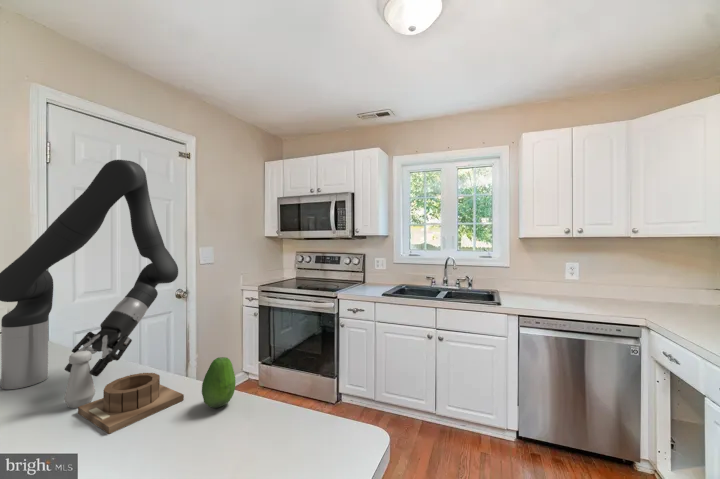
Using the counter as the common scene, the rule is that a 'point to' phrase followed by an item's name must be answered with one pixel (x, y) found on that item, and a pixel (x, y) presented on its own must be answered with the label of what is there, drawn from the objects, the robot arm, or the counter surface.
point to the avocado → (218, 383)
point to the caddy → (129, 401)
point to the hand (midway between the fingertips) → (80, 373)
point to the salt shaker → (79, 380)
